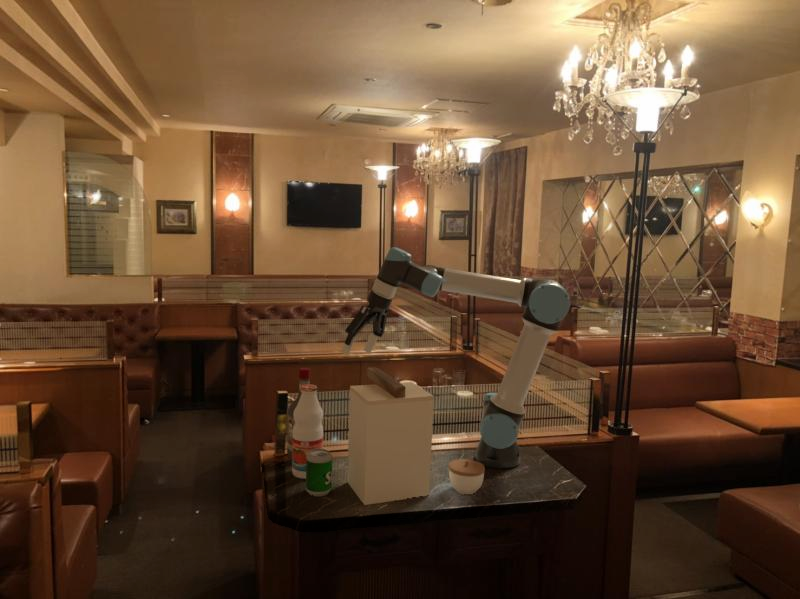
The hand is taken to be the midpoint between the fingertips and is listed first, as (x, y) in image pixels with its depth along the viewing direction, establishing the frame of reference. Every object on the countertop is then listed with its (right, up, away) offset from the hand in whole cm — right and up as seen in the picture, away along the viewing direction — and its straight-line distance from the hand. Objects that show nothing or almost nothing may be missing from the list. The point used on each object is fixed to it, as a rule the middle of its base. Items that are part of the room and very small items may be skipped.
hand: (355, 352), depth 201 cm
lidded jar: (+34, -40, -16) cm, 55 cm away
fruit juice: (-15, -37, -8) cm, 41 cm away
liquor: (-18, -35, +6) cm, 40 cm away
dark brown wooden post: (+10, -9, -16) cm, 21 cm away
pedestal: (+11, -39, -17) cm, 44 cm away
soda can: (-9, -39, -21) cm, 45 cm away
